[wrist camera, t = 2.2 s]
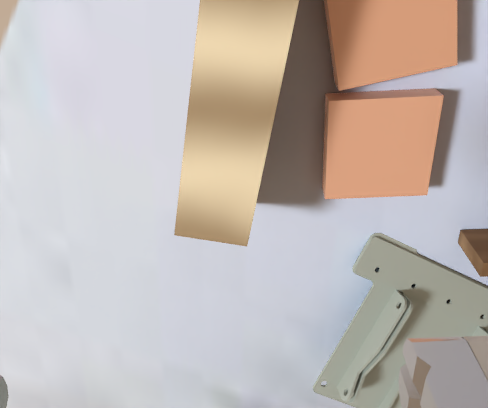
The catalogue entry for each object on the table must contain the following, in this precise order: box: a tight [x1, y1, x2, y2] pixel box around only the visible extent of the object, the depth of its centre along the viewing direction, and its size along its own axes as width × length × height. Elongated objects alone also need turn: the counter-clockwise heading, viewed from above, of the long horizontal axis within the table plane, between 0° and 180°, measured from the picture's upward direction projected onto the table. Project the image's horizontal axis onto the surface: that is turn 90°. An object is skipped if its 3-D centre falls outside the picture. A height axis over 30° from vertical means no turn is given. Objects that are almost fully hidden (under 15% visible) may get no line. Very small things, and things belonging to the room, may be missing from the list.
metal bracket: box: [313, 233, 488, 408], centre depth 34 cm, size 14×6×15 cm
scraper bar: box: [174, 0, 299, 246], centre depth 23 cm, size 14×4×5 cm, turn 170°
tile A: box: [322, 88, 444, 199], centre depth 26 cm, size 6×6×2 cm
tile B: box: [324, 0, 457, 91], centre depth 23 cm, size 6×6×2 cm
